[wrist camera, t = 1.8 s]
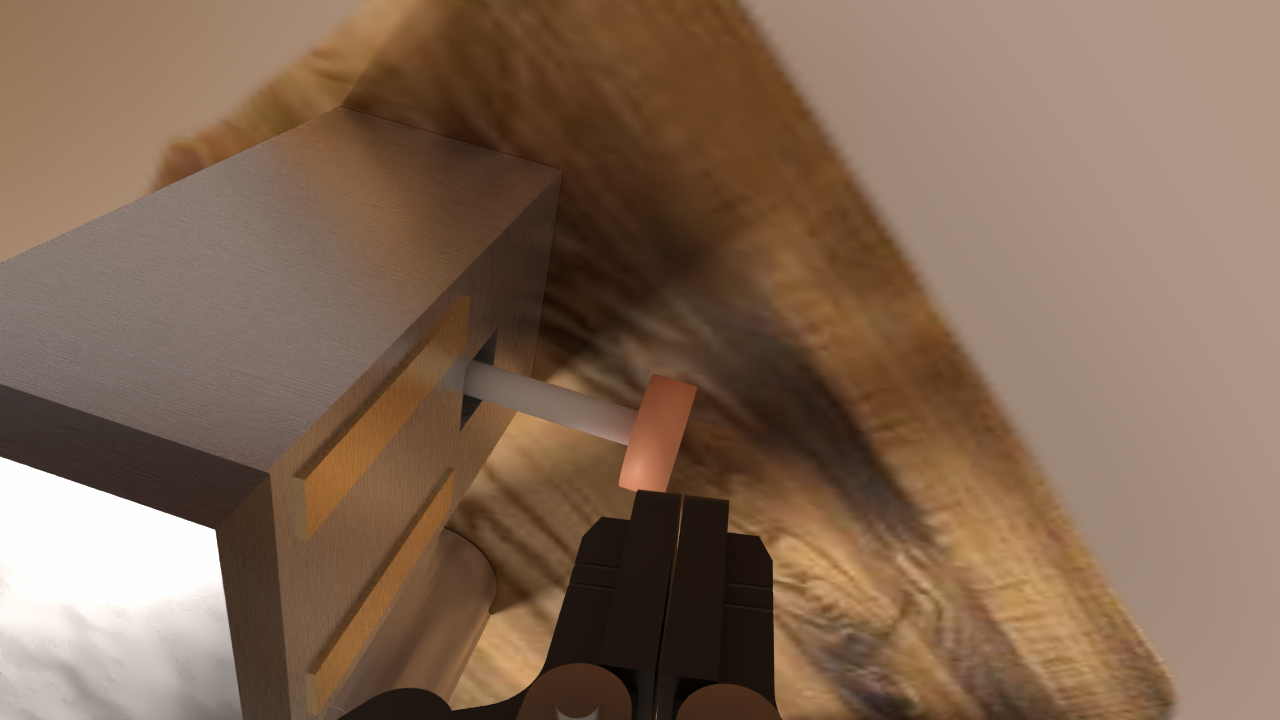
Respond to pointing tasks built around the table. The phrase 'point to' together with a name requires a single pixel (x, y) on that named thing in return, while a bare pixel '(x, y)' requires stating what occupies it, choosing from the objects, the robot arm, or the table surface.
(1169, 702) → the table surface
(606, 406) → the plunger
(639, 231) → the table surface
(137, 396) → the dispenser
